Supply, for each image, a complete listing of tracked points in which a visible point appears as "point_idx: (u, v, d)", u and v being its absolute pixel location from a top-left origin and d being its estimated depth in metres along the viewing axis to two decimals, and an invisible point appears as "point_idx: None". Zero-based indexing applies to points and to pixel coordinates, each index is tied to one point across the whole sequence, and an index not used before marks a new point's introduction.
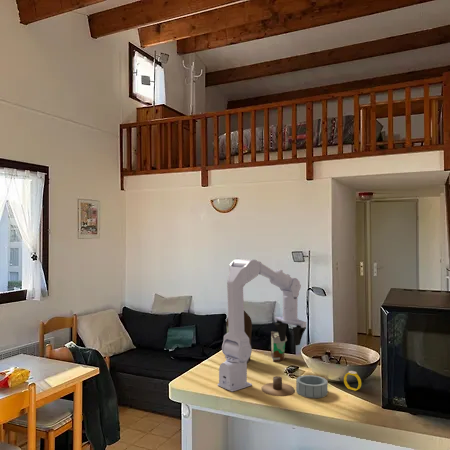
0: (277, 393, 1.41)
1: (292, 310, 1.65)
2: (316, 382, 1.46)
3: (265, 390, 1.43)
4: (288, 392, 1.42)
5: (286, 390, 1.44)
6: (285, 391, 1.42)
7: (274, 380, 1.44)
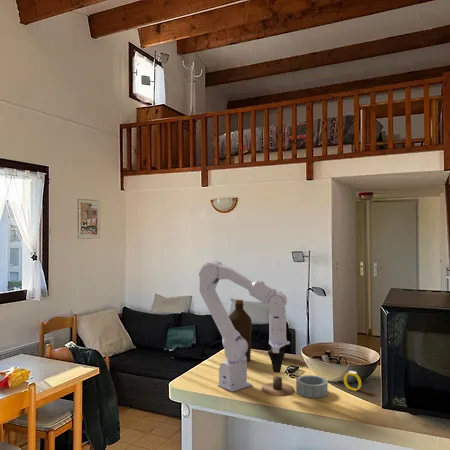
0: (277, 393, 1.41)
1: (272, 331, 1.43)
2: (316, 382, 1.46)
3: (265, 390, 1.43)
4: (288, 392, 1.42)
5: (286, 390, 1.44)
6: (285, 391, 1.42)
7: (274, 380, 1.44)
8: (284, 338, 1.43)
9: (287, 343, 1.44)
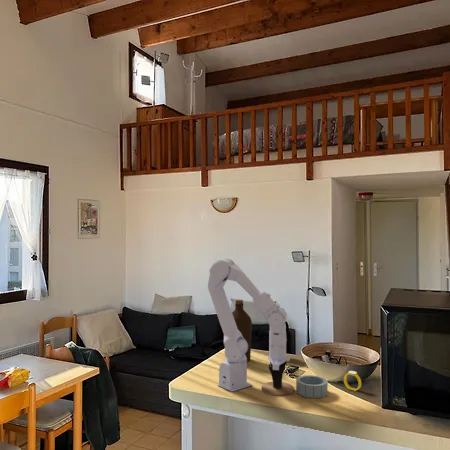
0: (277, 392, 1.41)
1: (272, 347, 1.43)
2: (316, 382, 1.46)
3: (265, 389, 1.43)
4: (288, 391, 1.42)
5: (286, 388, 1.44)
6: (285, 390, 1.42)
7: None
8: (284, 355, 1.43)
9: (287, 360, 1.44)
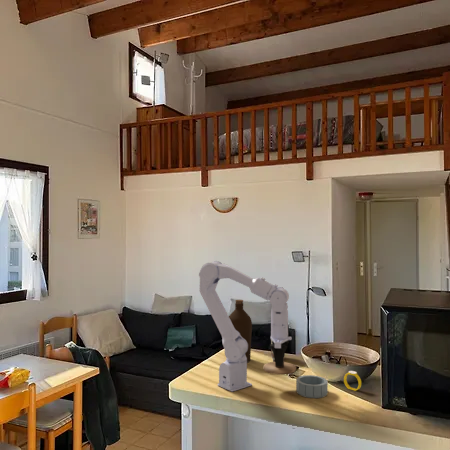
0: (279, 370, 1.41)
1: (274, 326, 1.43)
2: (316, 382, 1.46)
3: (267, 368, 1.43)
4: (290, 370, 1.42)
5: (288, 368, 1.44)
6: (287, 369, 1.42)
7: None
8: (286, 334, 1.43)
9: (289, 339, 1.44)
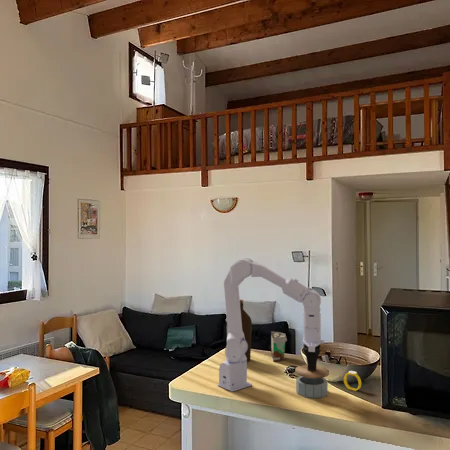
0: (312, 374, 1.38)
1: (307, 329, 1.41)
2: (316, 382, 1.46)
3: (300, 372, 1.41)
4: (323, 373, 1.39)
5: (321, 371, 1.41)
6: (320, 372, 1.40)
7: None
8: (319, 337, 1.41)
9: (322, 342, 1.41)
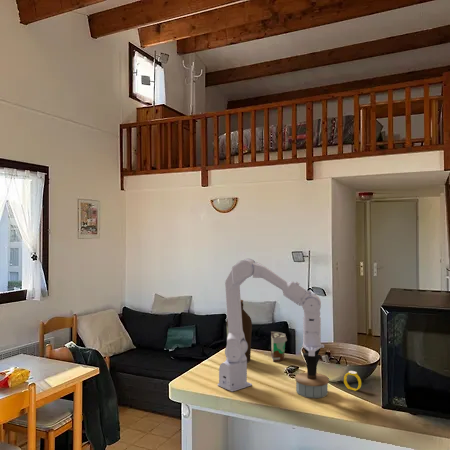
0: (312, 382, 1.38)
1: (307, 333, 1.41)
2: None
3: (300, 379, 1.41)
4: (323, 381, 1.39)
5: (321, 379, 1.41)
6: (320, 380, 1.40)
7: None
8: (319, 341, 1.41)
9: (322, 346, 1.41)
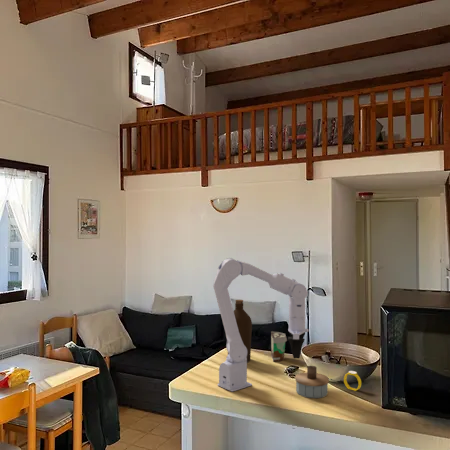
0: (312, 382, 1.38)
1: (292, 318, 1.50)
2: None
3: (300, 379, 1.41)
4: (323, 381, 1.39)
5: (321, 379, 1.41)
6: (320, 380, 1.40)
7: (308, 369, 1.42)
8: (303, 326, 1.50)
9: (306, 330, 1.50)
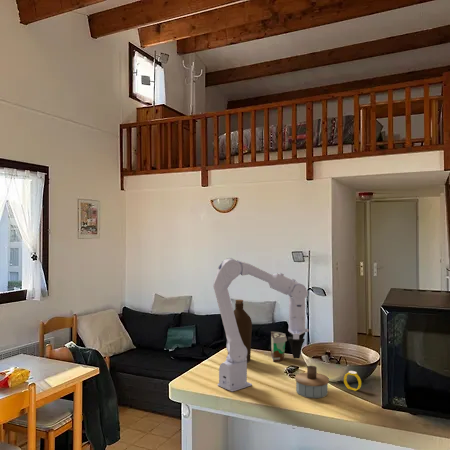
0: (312, 382, 1.38)
1: (292, 318, 1.50)
2: None
3: (300, 379, 1.41)
4: (323, 381, 1.39)
5: (321, 379, 1.41)
6: (320, 380, 1.40)
7: (308, 369, 1.42)
8: (303, 326, 1.50)
9: (306, 330, 1.50)
